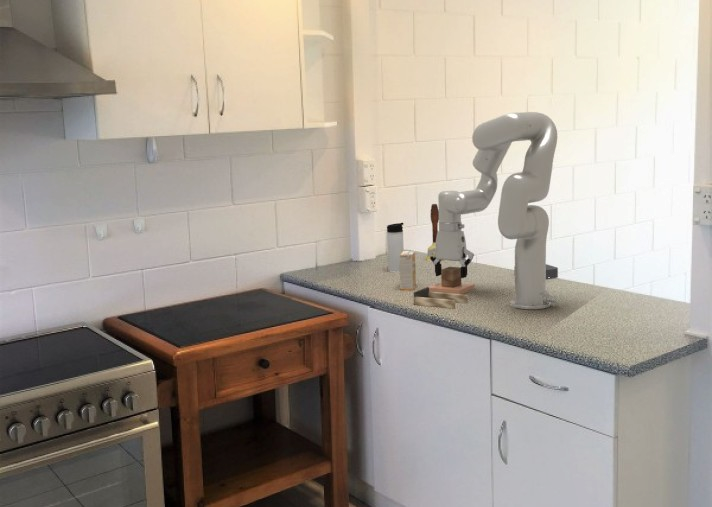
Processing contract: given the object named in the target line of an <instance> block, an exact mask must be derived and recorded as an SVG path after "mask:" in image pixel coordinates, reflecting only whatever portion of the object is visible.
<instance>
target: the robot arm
mask: <svg viewBox="0 0 712 507" xmlns="http://www.w3.org/2000/svg"><path fill="white" fill-rule="evenodd" d="M557 129H558V128H557V127H556V125H555V123H554V121H553V120H552V119H551V118H550V117H549V116H548V115H547V114H544V113H541V112H538V111H536V112H535V111H526V112H510V113H506V114H502V115H500V116H498V117H494V118H492V119H490V120H487V121H484V122H482V123H481V124H478V125H477V126H476V127H475V128H474V130H473V133H472V137H471V140H472V144H473V146H474V147H475V148H476V149H477V152H476V154H475V156H474V157H473V159H472V166H473V167H474V169H475V170H476V171H477V172H479V173H480V174H481V176H480V180H479V182H478V184H477V186H476V188H475V189H472V190H471V189H470V190H464V191H458V190H443V191H441V192H439V193H438V196H437V197H438V198H437V199H438V200H437V202H438V203H437V206H438V211H439V221H438V232H437V237H436V247H435V248H434V249H432V250H430V251H428V250H427V252H428V254H427V256H428V255H429V257H430V259H431V261H432V262H431V263H433V265H434V273H435V277H439V276H440V277H441V269H443V268H442V267H443V266H442V263H441V262H443V261H442V260H445V261H450V262H452V261H453V262H454V261H455V262H457V261H458V263H459V264H460V265H461V266H460V268H461V279H464V278H467V276H468V266H469V265H470V264H471V263H472V261H473V259H474V256H475V253H474V252H472V251H471V250H469V249H468V248H467V243H466V241H467V240H466V235H465V232H464V230H462V229H464V228H465V224H463V222H462V215H469V214H474V213H475V214H476V213H479V212H483V211H485V210H486V209H487V208H488V207H489V205H490V204H491V202H492V201H493V198H494V197H495V195H496V193H497V189H498V171H499V168H500V166H501V164H502V162H503V160H504V158H505V157H506V155H507V153H508V150H509V149H510V147H511V145H512V143H514V142H524V141H530V145H529V146H528V147H527V148H528V149H527V151H526V153H525V156H524V162H523V168H522V171H521V172H514V173H512V174H510V175H509V176H507V178H506V179H505V181H504V182H503V185H502V188H501V193H500V201H499V207H498V215H497V216H498V217H497V227H498V230H499V232H500V234H501V235H502V237H503V238H505V239H508V240H516V242H515V247H514V266H515V275H514V299H511V300H510V301H509V304H510V306H511V307H513V308H515V309H520V310H541V309H542V310H543V309H547V308H550V307H551V306H552V303H555V304H557V303H559V297H558V295H551V294H550V291H549V290H547V279H546V264H547V263H546V262H547V257H546V256H547V236H548V233H549V226H550V224H549V223H550V220H549V219H550V218H549V215H548V213H547V211H546V210H545V209H544V208H543V207H542V206H540V205H535V204H531V203H537V202H541V201H543V200H544V199H546V198H547V196H548V195H549V191H550V185H551V177H552V172H553V166H554V164H553V162H554V158H555V152H556V148H557V143H558V130H557ZM434 252H436V257H435V256H434V254H433V253H434Z"/></svg>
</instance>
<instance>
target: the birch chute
mask: <svg viewBox="0 0 712 507" xmlns="http://www.w3.org/2000/svg"><path fill="white" fill-rule="evenodd" d="M429 287H430V286H426V287H424V288H422V289H419V290H416V291H413V305H414V306H415V305H416V306H425V307H435V308H444V309H456V303H461V304H468V294H462V295H460V294H449V293H438V292H429Z"/></svg>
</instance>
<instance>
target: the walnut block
mask: <svg viewBox="0 0 712 507" xmlns="http://www.w3.org/2000/svg"><path fill="white" fill-rule="evenodd" d="M440 277H441V279H440V280H441V281H440V283H441V285H442V287H450V288H454V287H456V286H459V285H462V283H463V282H462V278H461V266H460V267H458V266H457V267H456V266H448V267H445V268H442V269H441V275H440Z"/></svg>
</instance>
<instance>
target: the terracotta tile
mask: <svg viewBox="0 0 712 507" xmlns="http://www.w3.org/2000/svg"><path fill="white" fill-rule="evenodd" d="M461 283H462V285H459V286H456V287H454V288H450V287H442V285H441V282H439V283H436V284H433V285H431V286H428V287H429V292H438V293H449V294H460V295H465V294H466V293H468V292H470V291H472V290H474V289H475V288H476V284H475V283H470V282H461Z"/></svg>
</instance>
